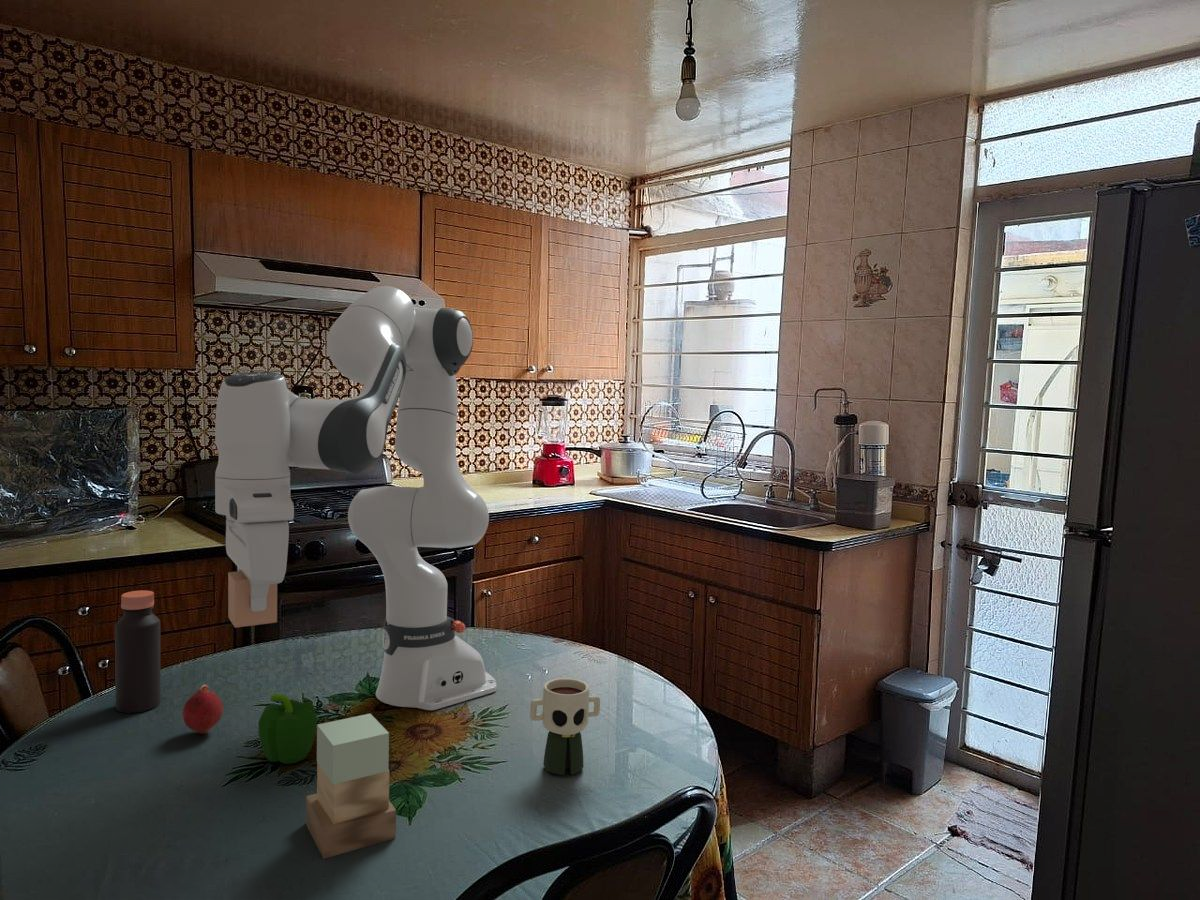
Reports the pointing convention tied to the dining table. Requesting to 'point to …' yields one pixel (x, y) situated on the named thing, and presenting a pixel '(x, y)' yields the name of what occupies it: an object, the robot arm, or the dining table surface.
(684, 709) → the dining table surface
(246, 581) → the terracotta block
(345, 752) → the sage cube
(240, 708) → the dining table surface
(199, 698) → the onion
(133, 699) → the bottle
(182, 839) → the dining table surface
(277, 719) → the bell pepper
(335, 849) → the walnut slab
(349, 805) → the oak cube
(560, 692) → the character mug
